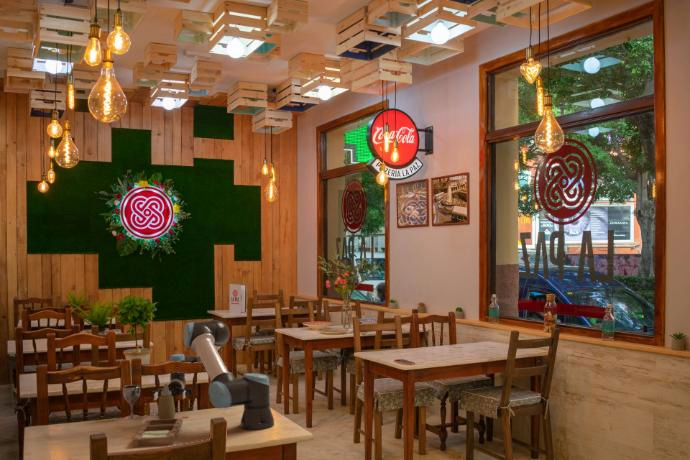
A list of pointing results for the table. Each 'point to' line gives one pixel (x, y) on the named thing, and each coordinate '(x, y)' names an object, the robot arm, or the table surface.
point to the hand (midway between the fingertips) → (169, 396)
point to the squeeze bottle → (166, 404)
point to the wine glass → (131, 397)
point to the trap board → (158, 432)
